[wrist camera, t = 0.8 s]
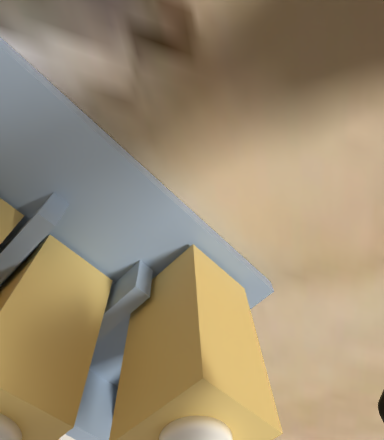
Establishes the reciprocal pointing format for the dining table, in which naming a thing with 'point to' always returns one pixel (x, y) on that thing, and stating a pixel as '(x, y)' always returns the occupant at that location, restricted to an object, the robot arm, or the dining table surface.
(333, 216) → the dining table surface
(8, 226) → the key
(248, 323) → the key
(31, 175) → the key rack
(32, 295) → the key middle
